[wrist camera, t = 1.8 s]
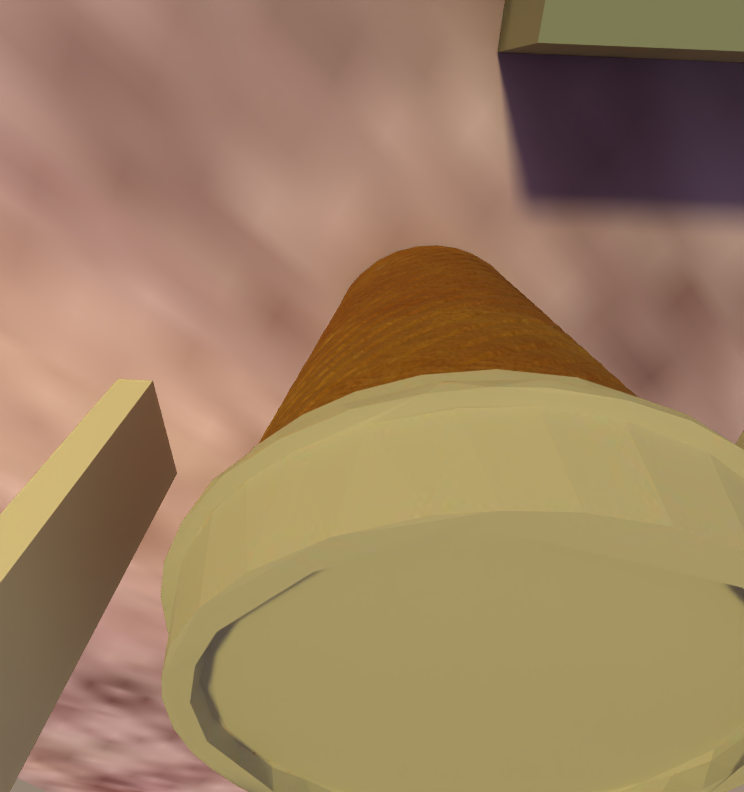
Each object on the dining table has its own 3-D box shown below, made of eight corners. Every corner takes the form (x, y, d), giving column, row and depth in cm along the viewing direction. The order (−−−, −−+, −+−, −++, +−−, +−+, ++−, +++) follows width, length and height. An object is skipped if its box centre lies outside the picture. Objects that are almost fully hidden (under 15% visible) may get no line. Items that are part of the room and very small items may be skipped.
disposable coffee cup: (625, 342, 16) (988, 755, 6) (414, 482, 20) (436, 877, 10) (446, 108, 13) (635, 216, 3) (230, 331, 17) (-9, 711, 7)
